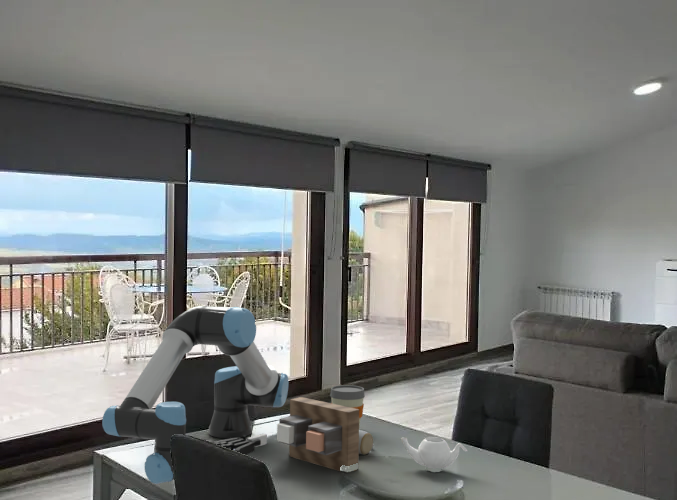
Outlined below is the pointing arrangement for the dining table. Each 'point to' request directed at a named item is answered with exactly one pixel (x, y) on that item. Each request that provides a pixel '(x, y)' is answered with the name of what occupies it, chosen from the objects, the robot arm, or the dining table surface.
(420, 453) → the teapot
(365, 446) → the grey canister
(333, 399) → the reusable coffee cup
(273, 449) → the dining table surface
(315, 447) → the terracotta key
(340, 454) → the key panel
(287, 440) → the white key
